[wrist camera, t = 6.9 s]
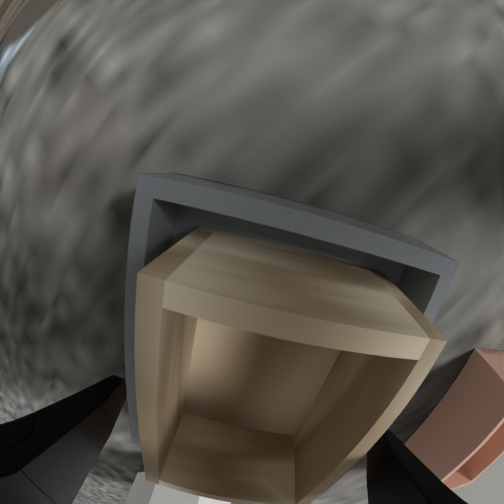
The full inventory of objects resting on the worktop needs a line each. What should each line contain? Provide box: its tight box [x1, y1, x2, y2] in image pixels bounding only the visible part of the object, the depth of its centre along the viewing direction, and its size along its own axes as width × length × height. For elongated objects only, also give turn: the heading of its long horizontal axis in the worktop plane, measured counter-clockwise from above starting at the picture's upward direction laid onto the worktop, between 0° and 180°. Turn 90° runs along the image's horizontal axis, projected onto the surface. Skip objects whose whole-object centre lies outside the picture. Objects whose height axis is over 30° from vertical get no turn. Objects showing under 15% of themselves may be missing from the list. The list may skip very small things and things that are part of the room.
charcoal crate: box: [124, 173, 459, 446], centre depth 10 cm, size 10×13×3 cm
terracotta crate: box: [404, 349, 504, 490], centre depth 10 cm, size 7×10×5 cm
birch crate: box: [135, 225, 447, 504], centre depth 9 cm, size 7×10×5 cm
